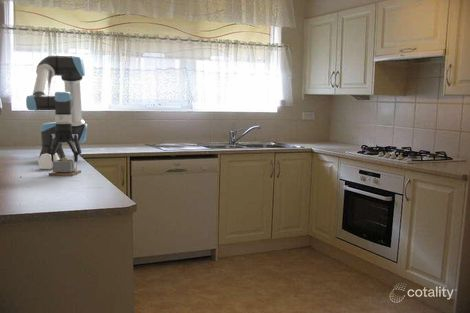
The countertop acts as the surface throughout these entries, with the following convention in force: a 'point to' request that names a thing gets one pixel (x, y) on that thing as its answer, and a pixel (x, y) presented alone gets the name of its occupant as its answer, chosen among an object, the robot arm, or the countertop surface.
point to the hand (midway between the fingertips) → (64, 168)
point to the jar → (47, 161)
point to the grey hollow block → (63, 166)
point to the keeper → (65, 172)
